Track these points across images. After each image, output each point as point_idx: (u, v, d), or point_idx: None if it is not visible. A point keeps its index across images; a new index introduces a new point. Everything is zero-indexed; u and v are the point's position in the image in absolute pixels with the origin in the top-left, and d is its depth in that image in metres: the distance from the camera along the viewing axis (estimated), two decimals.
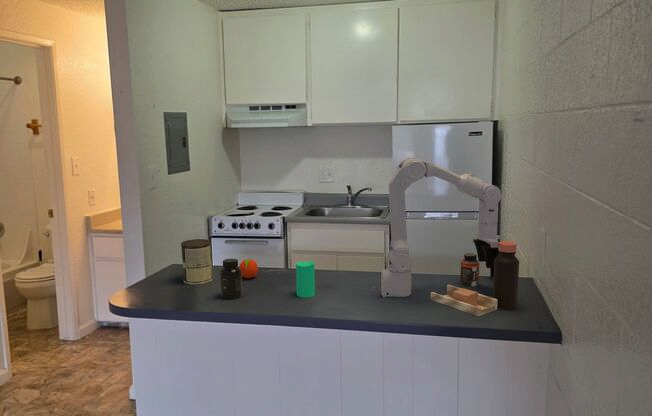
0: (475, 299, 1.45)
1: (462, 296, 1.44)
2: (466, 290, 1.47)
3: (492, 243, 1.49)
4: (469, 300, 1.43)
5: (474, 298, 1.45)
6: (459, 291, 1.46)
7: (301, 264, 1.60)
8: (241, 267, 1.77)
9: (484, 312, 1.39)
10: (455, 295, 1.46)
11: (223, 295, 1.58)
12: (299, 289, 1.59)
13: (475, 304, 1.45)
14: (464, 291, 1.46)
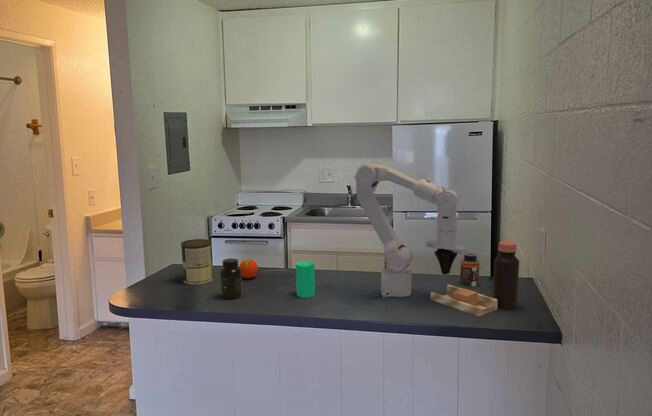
0: (475, 299, 1.45)
1: (462, 296, 1.44)
2: (466, 290, 1.47)
3: None
4: (469, 300, 1.43)
5: (474, 298, 1.45)
6: (459, 291, 1.46)
7: (301, 264, 1.60)
8: (241, 267, 1.77)
9: (484, 312, 1.39)
10: (455, 295, 1.46)
11: (223, 295, 1.58)
12: (299, 289, 1.59)
13: (475, 304, 1.45)
14: (464, 291, 1.46)
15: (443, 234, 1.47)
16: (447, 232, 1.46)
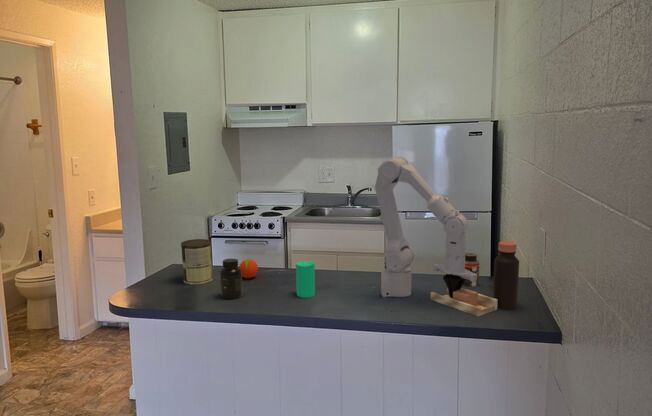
0: (475, 299, 1.45)
1: (462, 296, 1.44)
2: (466, 290, 1.47)
3: None
4: (469, 300, 1.43)
5: (474, 298, 1.45)
6: (459, 291, 1.46)
7: (301, 264, 1.60)
8: (241, 267, 1.77)
9: (484, 312, 1.39)
10: (455, 295, 1.46)
11: (223, 295, 1.58)
12: (299, 289, 1.59)
13: (475, 304, 1.45)
14: (464, 291, 1.46)
15: (452, 259, 1.45)
16: (456, 258, 1.45)
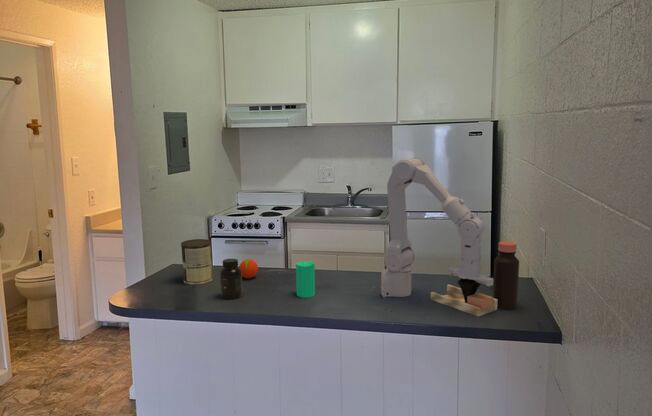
0: (490, 304, 1.41)
1: (477, 301, 1.39)
2: (481, 295, 1.43)
3: None
4: (484, 305, 1.39)
5: (489, 303, 1.41)
6: (474, 296, 1.42)
7: (301, 264, 1.60)
8: (241, 267, 1.77)
9: (484, 312, 1.39)
10: (470, 300, 1.42)
11: (223, 295, 1.58)
12: (299, 289, 1.59)
13: None
14: (479, 296, 1.42)
15: (467, 264, 1.41)
16: (471, 262, 1.40)
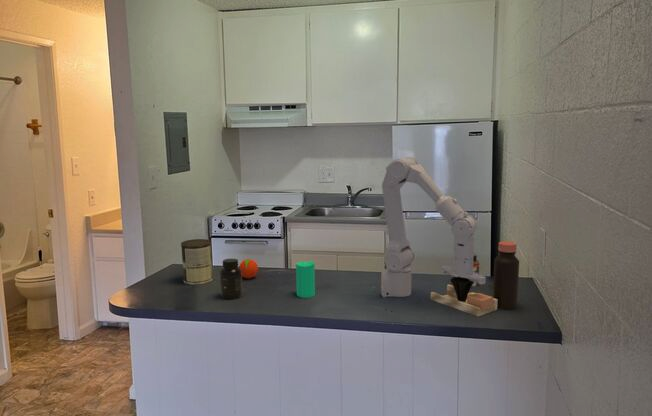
0: (490, 304, 1.41)
1: (477, 301, 1.39)
2: (481, 295, 1.43)
3: None
4: (484, 305, 1.39)
5: (489, 303, 1.41)
6: (474, 296, 1.42)
7: (301, 264, 1.60)
8: (241, 267, 1.77)
9: (484, 312, 1.39)
10: (470, 300, 1.42)
11: (223, 295, 1.58)
12: (299, 289, 1.59)
13: None
14: (479, 296, 1.42)
15: (460, 262, 1.43)
16: (464, 260, 1.42)
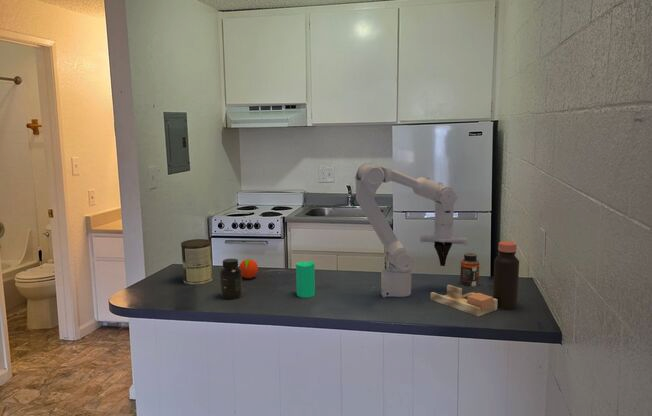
0: (490, 304, 1.41)
1: (477, 301, 1.39)
2: (481, 295, 1.43)
3: None
4: (484, 305, 1.39)
5: (489, 303, 1.41)
6: (474, 296, 1.42)
7: (301, 264, 1.60)
8: (241, 267, 1.77)
9: (484, 312, 1.39)
10: (470, 300, 1.42)
11: (223, 295, 1.58)
12: (299, 289, 1.59)
13: None
14: (479, 296, 1.42)
15: (446, 228, 1.54)
16: (449, 225, 1.55)
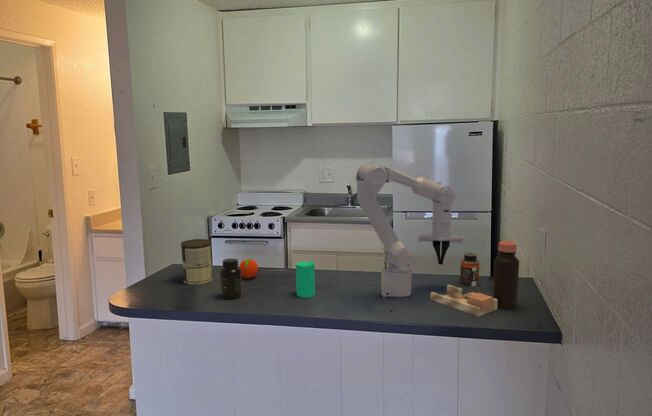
0: (490, 304, 1.41)
1: (477, 301, 1.39)
2: (481, 295, 1.43)
3: None
4: (484, 305, 1.39)
5: (489, 303, 1.41)
6: (474, 296, 1.42)
7: (301, 264, 1.60)
8: (241, 267, 1.77)
9: (484, 312, 1.39)
10: (470, 300, 1.42)
11: (223, 295, 1.58)
12: (299, 289, 1.59)
13: None
14: (479, 296, 1.42)
15: (444, 227, 1.56)
16: (447, 224, 1.56)
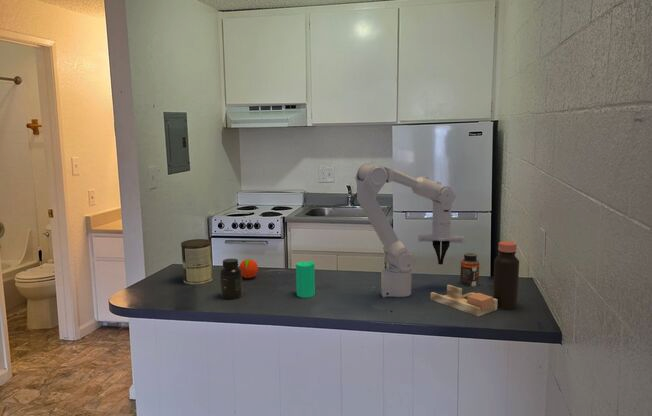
0: (490, 304, 1.41)
1: (477, 301, 1.39)
2: (481, 295, 1.43)
3: None
4: (484, 305, 1.39)
5: (489, 303, 1.41)
6: (474, 296, 1.42)
7: (301, 264, 1.60)
8: (241, 267, 1.77)
9: (484, 312, 1.39)
10: (470, 300, 1.42)
11: (223, 295, 1.58)
12: (299, 289, 1.59)
13: None
14: (479, 296, 1.42)
15: (444, 227, 1.56)
16: (447, 224, 1.56)
